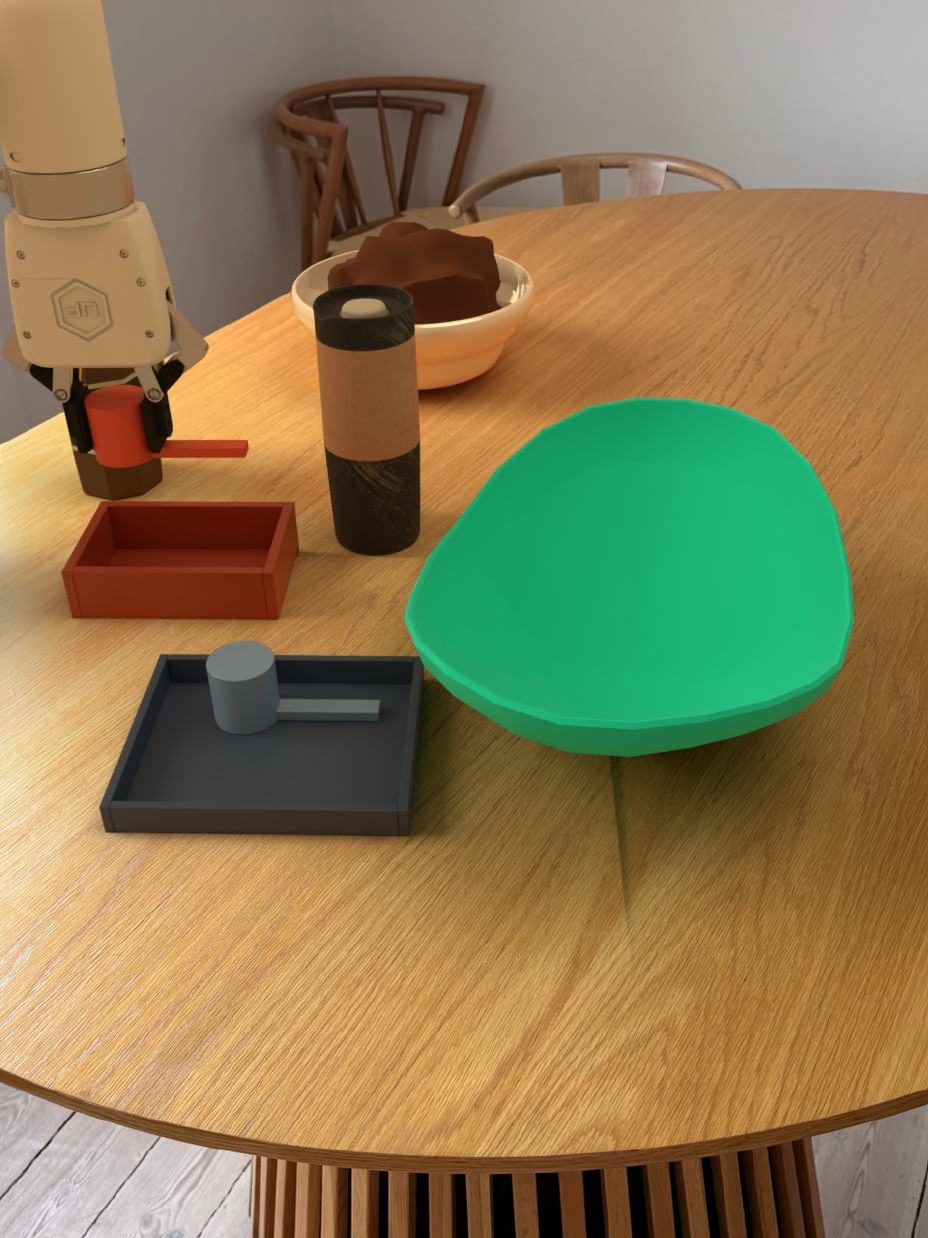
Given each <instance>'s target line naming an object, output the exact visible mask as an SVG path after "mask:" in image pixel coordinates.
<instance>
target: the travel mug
mask: <svg viewBox="0 0 928 1238" xmlns="http://www.w3.org/2000/svg"><path fill="white" fill-rule="evenodd" d="M313 312H314V321H315V334H316V339H315V344H316V360H317V371H318V386H319V397H320V411H321V425H322V436H323V448H324V455H325V463H326V472H327V480H328V488H329V495H330V496H329V498H330V505H331V512H332V520H333V527H334V534H335V538H336V540H337V542H338V543H339V545H340V546H341V547H343V548H345V549H347V550H348V551H350V552H352V553H353V552H354V553H356V554H362V555H368V556H369V555H370V556H371V555H372V556H378V555H379V556H380V555H381V556H382V555H388V554H394V553H396V552H400V551H403V550H405V549H407V548H408V547H410V546H412V545H413V544H414V543H415V542H416V541H417V540H418V539H419V536H420V533H421V428H420V427H421V426H420V405H419V403H420V402H419V390H418V383H417V362H416V341H415V320H414V302H413V298H412V296H411V295H410V294H409V293H408V292H406V291H405V290H402V289H400V288H397V287H393V286H388V285H381V284H356V285H348V286H342V287H338V288H334V289H331V290H328V291H326V292H324V293H322V294H321V295H319V296H318V297H317V298H316V299H315V301H314V303H313Z"/></svg>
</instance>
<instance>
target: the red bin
mask: <svg viewBox="0 0 928 1238" xmlns="http://www.w3.org/2000/svg"><path fill="white" fill-rule="evenodd" d="M297 523H298V522H297V515H296V505H295V501H217V500H216V501H215V500H214V501H210V500H209V501H207V500H206V501H205V500H204V501H201V500H200V501H199V500H197V501H196V500H195V501H194V500H192V501H191V500H189V501H187V500H186V501H184V500H183V501H182V500H178V501H177V500H176V501H175V500H101V501H100V502H99V504H98V505H97V508H96V509H95V511H94V513H93V515H92V516H91V518H90V520H89V522H88V524H87V526H86V527H85V529H84V531H83V532H82V534H81V536H80V538H79V539H78V541H77V543H76V545H75V546H74V549H73V550H72V552H71V554H70V555H69V557H68V559H67V561H66V563H65V564H64V566H63V568H62V569H61V572H60V573H61V577H62V581H63V585H64V590H65V594H66V597H67V602H68V606H69V611H70V614H71V619H78V620H80V619H82V620H86V619H88V620H90V619H91V620H92V619H93V620H95V619H96V620H97V619H98V620H205V621H206V620H208V621H209V620H214V621H215V620H219V621H220V620H221V621H224V620H225V621H227V620H228V621H231V620H232V621H279V620H280V617H281V613H282V609H283V606H284V603H285V599H286V595H287V591H288V587H289V584H290V581H291V577H292V574H293V570H294V566H295V562H296V558H298V556H299V552H300V545H299V544H300V543H299V533H298V525H297Z"/></svg>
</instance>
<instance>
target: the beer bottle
mask: <svg viewBox="0 0 928 1238" xmlns="http://www.w3.org/2000/svg"><path fill="white" fill-rule="evenodd" d="M81 382H83V385H88V389H90V390H91V392H93V391H95V390H98V389H101V388H104V387H108V386H114V385H133V386H138V387H141V388H142V386H141V383H140V381H139V379H138V377H137V374H136V372H135V370H134V368H133V367H130V368H82V373H81ZM67 432H68V433H69V431H68V430H67ZM68 436H69V440H70V441H69V442H70V446H71V451H72V455H73V459H74V462H75V467H76V470H77V474H78V477H79V481H80V484H81V487H82V491H83V492H84V494H85V495H87V496H90V497H91V496H92V497H96V498H100V499H105V500H108V501H116V500H120V499H125V498H132V497H135V496H136V497H137V496H141V495H144V494H147V492H149V491H150V490H151V489H152V488H154V487H155V486H157V485H158V484H160V483H161V482H162V481H163V477H164V474H163V465H162V464H163V463H162V458H152V459H150V460H149V461H147V462H145V463H142V464H140V465H136V466H132V467H124V468H114V467H107V466H104V465H102V464H100V463H99V462H98V461H97V459H96V456H95V451H94V446H93V447H92V449H91V451H90V452H88V453H87V454H80V453H79V452H78V448H77V444H76V439H75V438H71V437H70V435H69V434H68Z"/></svg>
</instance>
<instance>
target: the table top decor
mask: <svg viewBox="0 0 928 1238" xmlns="http://www.w3.org/2000/svg"><path fill="white" fill-rule="evenodd" d="M844 542H845V541H844V537H843V532H842V528H841V523H840V519H839V514H838V513H837V510H836V509H835V507H834V505H833V503H832V500H831V499H830V497H829V494H828V493H827V492H826V490H825V487H824V486H823V484H822V481H821V480H820V478H819V476H818V474H817V472H816V470H815V468H814V466H813V465H812V464H811V462H810V461H809V460H808V459H806V457H805V456H803V455H802V453H800V451H798V450H797V449H796V448H795V446H793V444H792V443H791V442H789V440H787V438H785V436H783V435H782V433H780V432H779V431H778V430H777V428H775V427H774V426H771V425H770V424H767V423H766V422H764V421H761V420H759V419H756V418H755V417H753V416H750V415H748V414H746V413H744V412H742V411H740V410H738V409H735V408H734V407H729V406H725V405H719V404H714V403H709V402H705V401H699V400H695V399H690V398H673V397H645V396H644V397H643V396H642V397H641V396H638V397H632V398H626V399H621V400H615V401H609V402H603V403H599V404H598V403H597V404H593V405H589V406H587V407H585V408H583V409H581V410H578V411H576V412H575V413H573V414H571V415H569V416H567V417H564V418H563V419H561V420H559V421H557V422H554V423H552V424H551V425H549V426H547V427H544V428H543V429H541V430H540V431H539V432H538V433H537V434H535V436H533V437H532V438H531V439H529V441H527V442H526V443H525V444H524V445H523V446H521V447H520V448H519V449H518V450H517V451H516V452H514V454H512V455H511V456H509V457H508V458H507V459H506V460H505V461H504V462H502V463H501V464H500V465H499V466H498V467H497V468H495V470H494V471H493V473H492V474H491V475H490V476H489V478H488V479H487V481H486V482H485V483H484V484H483V485H482V487H481V488H480V490H479V491H478V492H477V493H476V495H475V496H474V498H473V499H472V500H471V502H469V504H468V505H467V507H466V509H465V510H464V511H463V512H462V514H460V516H459V518H458V519H456V521H455V523H454V524H453V525H452V526H451V528H449V529H448V531H447V532H446V534H445V535H444V536H443V537H442V539H441V540H440V541H439V542H438V544H437V545H436V546H435V547H434V548H433V549H432V551H431V552H430V553H429V554H428V556H427V558H426V561H425V562H424V565H423V567H422V569H421V571H420V573H419V576H418V577H417V579H416V582H415V584H414V586H413V588H412V591H411V592H410V595H409V598H408V601H407V605H406V609H405V612H404V616H403V620H404V622H405V624H406V627H407V630H408V633H409V635H410V637H411V640H412V642H413V644H414V646H415V649H416V651H417V654H418V656H420V658H421V661H422V663H423V665H424V669H426V671H428V672H429V674H431V675H432V677H434V678H435V679H436V680H437V681H438V682H439V683H440V684H441V685H442V686H443V687H444V688H445V689H446V690H447V691H448V692H449V693H450V694H451V695H452V696H453V697H455V698H457V699H458V700H460V701H462V702H463V703H465V704H466V705H468V706H469V707H471V708H472V709H474V710H475V711H477V712H479V713H480V714H482V715H484V716H485V717H486V718H488V719H489V720H492V721H493V722H495V723H496V724H498V725H500V726H501V727H503V728H505V729H506V730H507V731H509V732H511V733H512V734H514V735H516V736H518V737H521V738H524V739H527V740H530V741H534V742H536V743H539V744H543V745H546V746H549V747H551V748H555V749H558V750H561V751H564V752H567V753H571V754H582V755H583V754H585V755H597V756H612V757H625V758H626V757H627V758H633V757H638V756H645V755H651V754H659V753H665V752H671V751H672V752H673V751H677V750H685V749H690V748H695V747H699V746H703V745H708V744H711V743H716V742H719V741H720V742H721V741H724V740H728V739H733V738H737V737H740V736H744V735H747V734H749V733H752V732H754V731H757V730H760V729H763V728H766V727H768V726H772V725H774V724H777V723H780V722H782V721H783V720H786V719H787V718H789V717H792V716H794V715H795V714H797V713H799V712H801V711H803V710H805V709H806V708H808V706H810V705H811V704H812V703H813V702H815V701H816V700H817V699H819V698H820V697H821V696H822V695H823V694H825V693H826V692H827V691H828V690H830V688H831V687H832V685H833V683H834V681H835V680H836V678H837V676H838V675H839V673H840V671H841V669H843V664H844V661H845V657H846V653H847V649H848V646H849V642H850V638H851V635H852V632H853V628H854V624H855V612H854V599H853V598H854V597H853V586H852V575H851V570H850V566H849V565H850V564H849V560H848V557H847V551H846V547H845V543H844Z"/></svg>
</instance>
